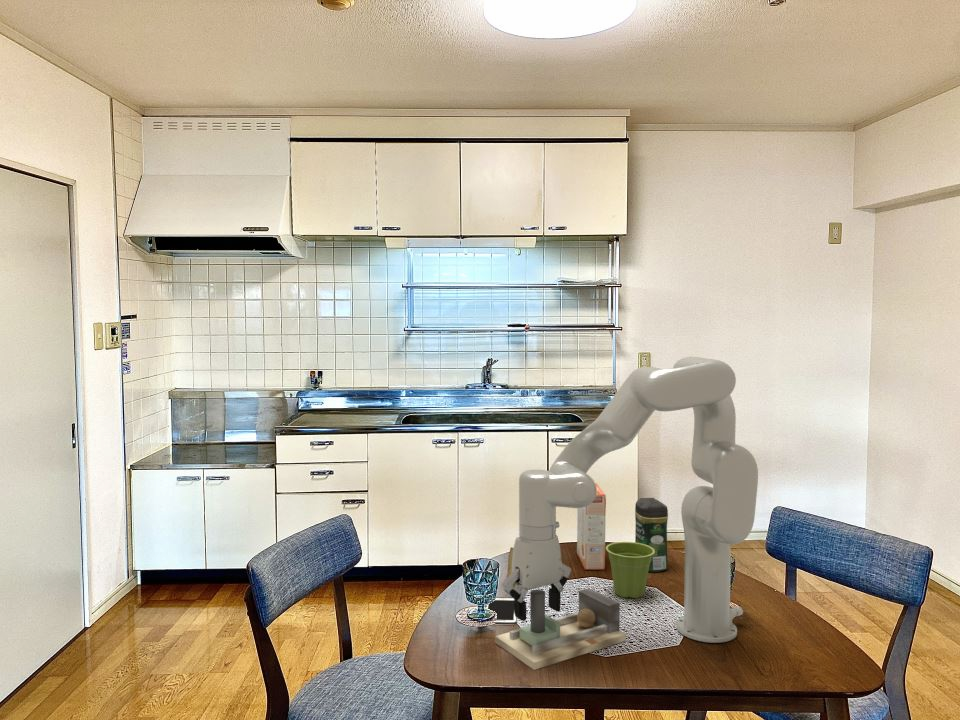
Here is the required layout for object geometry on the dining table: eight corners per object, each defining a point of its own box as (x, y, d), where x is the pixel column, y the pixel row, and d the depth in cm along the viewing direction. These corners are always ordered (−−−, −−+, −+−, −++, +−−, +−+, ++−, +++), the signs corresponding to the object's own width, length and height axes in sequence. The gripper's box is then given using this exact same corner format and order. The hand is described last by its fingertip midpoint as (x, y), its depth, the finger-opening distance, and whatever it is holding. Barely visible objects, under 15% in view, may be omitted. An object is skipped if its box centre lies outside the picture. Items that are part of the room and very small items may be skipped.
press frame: (583, 617, 169) (583, 585, 169) (625, 640, 157) (626, 606, 157) (495, 643, 157) (494, 608, 156) (534, 670, 145) (534, 632, 144)
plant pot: (645, 606, 175) (645, 560, 174) (598, 596, 181) (598, 551, 181) (660, 590, 185) (661, 546, 185) (616, 581, 192) (616, 538, 191)
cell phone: (518, 601, 180) (518, 597, 180) (516, 627, 165) (516, 622, 165) (486, 600, 180) (486, 596, 180) (482, 626, 166) (482, 622, 166)
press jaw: (542, 631, 158) (542, 584, 157) (560, 641, 153) (560, 593, 152) (519, 637, 155) (519, 590, 154) (536, 648, 150) (536, 599, 149)
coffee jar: (631, 561, 207) (631, 496, 205) (658, 560, 207) (659, 495, 206) (642, 573, 197) (643, 505, 196) (671, 572, 198) (672, 504, 197)
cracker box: (606, 570, 200) (606, 494, 198) (584, 570, 200) (584, 494, 198) (597, 553, 214) (597, 481, 212) (576, 553, 214) (576, 482, 212)
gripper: (559, 520, 160) (559, 599, 161) (491, 533, 151) (492, 617, 152) (582, 528, 153) (582, 610, 155) (512, 542, 144) (513, 630, 146)
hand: (537, 613), depth 153 cm, fingers open, 8 cm apart
